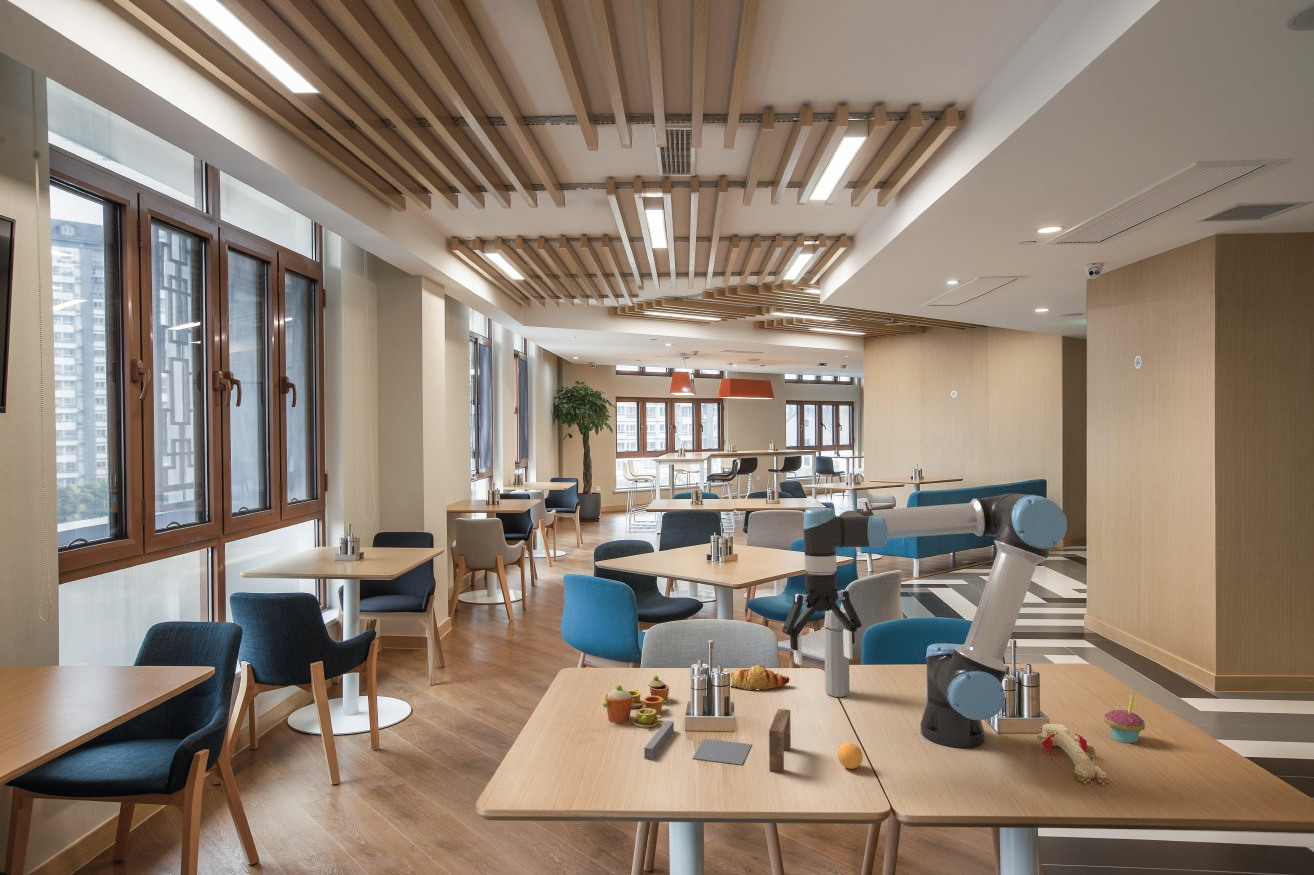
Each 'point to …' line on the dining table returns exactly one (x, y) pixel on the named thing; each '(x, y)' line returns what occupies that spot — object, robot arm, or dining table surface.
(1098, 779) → the bone
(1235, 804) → the dining table surface
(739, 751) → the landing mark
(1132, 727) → the cupcake
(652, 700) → the toy tea set
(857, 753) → the ball
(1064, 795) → the dining table surface
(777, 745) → the bridge
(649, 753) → the stopper
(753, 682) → the croissant
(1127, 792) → the dining table surface
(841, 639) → the water bottle
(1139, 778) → the dining table surface
